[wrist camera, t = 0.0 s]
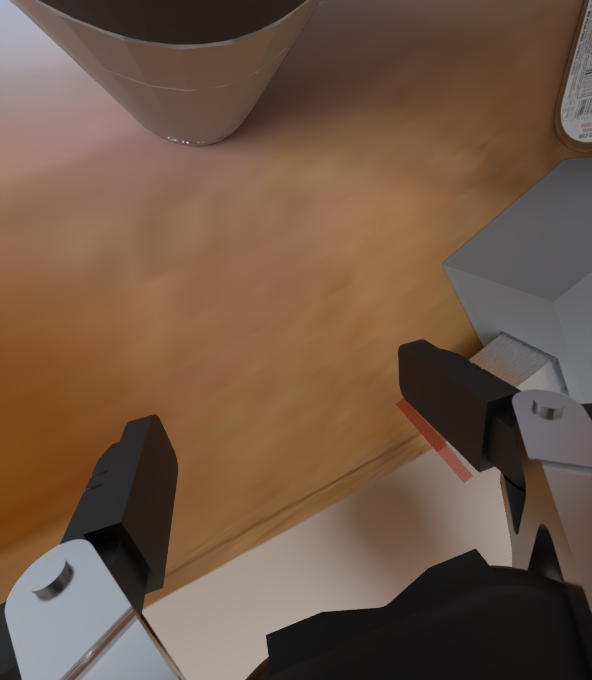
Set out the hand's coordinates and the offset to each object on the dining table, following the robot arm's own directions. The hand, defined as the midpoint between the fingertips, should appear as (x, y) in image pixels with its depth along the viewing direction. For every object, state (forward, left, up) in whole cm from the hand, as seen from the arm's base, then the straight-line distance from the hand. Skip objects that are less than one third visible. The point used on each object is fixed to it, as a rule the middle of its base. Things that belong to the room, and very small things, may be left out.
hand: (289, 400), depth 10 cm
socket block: (+9, +30, -17) cm, 36 cm away
